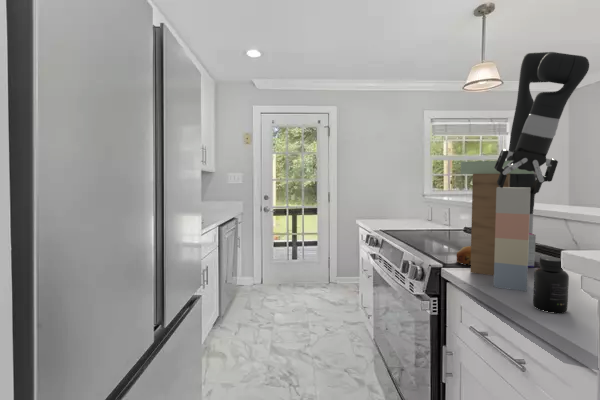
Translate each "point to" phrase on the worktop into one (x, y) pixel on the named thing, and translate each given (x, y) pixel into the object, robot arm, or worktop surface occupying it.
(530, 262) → the supplement box
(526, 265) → the brick tower
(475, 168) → the long brick
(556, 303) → the supplement bottle
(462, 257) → the bread roll
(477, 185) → the walnut stand
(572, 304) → the worktop surface
